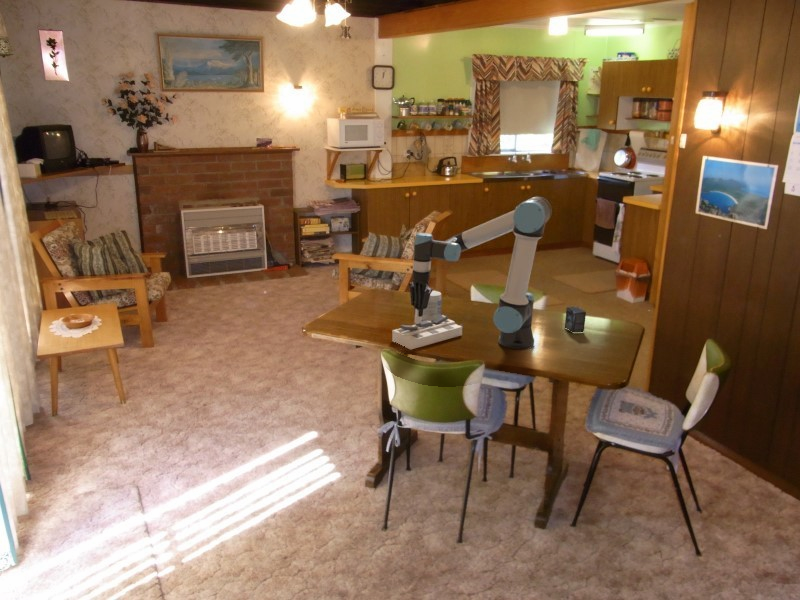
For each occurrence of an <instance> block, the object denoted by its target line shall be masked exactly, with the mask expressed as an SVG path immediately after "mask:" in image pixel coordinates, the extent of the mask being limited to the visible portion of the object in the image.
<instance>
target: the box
mask: <svg viewBox="0 0 800 600" xmlns="http://www.w3.org/2000/svg"><path fill="white" fill-rule="evenodd" d="M586 315H587V311H585V310H583V309H582V308H580V307H579V306H567V307H566V311H565V319H564V329H565V328H567V329H569V330H570V331H572V332H583V331H584V332H585V326H586V325H585V323H586Z"/></svg>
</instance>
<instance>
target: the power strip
mask: <svg viewBox="0 0 800 600" xmlns="http://www.w3.org/2000/svg"><path fill="white" fill-rule="evenodd" d="M431 321H432V320H431ZM411 326H415V327H417V330H416V331H411V330H403V329H401V328H400V327H399V328H396V329H392V330H391V331H392V333H391V334H392V336H391V337H392V343H395V342H396V343H395V344H397V343H398V345H399V344H400V346H401V345H402V347H404V346H405V348H406V349H408V350H414V349H415V350H416V349H417V348H421V347H425V346H428V345H432V344H435V343H440V342H442V341H446V340H449V339H453V338H457V337H461V336H463V328H464V324H457V323H456V322H455V321H454V320H452V319H450V318H448V319H447V320H445V321H444V322H442V323H440V324H438V325H435V324H433V325H432V326H426V327H418V326H416V324H412V325H411Z"/></svg>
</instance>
